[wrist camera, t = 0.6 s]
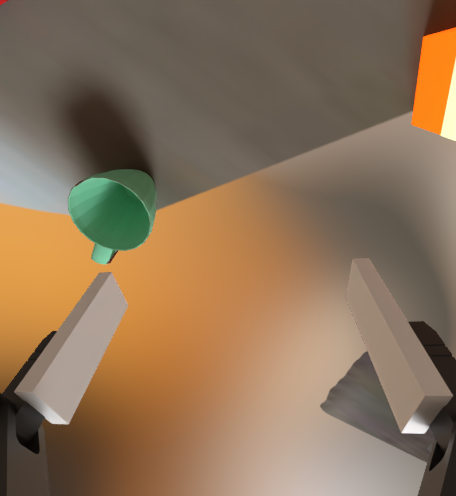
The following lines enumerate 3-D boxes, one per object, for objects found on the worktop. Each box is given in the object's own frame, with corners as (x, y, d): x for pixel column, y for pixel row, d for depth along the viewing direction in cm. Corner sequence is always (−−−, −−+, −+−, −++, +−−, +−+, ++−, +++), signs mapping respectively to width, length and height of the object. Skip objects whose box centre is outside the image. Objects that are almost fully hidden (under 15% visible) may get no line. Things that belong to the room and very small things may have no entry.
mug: (114, 138, 35) (73, 160, 27) (181, 172, 37) (162, 202, 29) (95, 221, 43) (58, 257, 35) (151, 245, 45) (129, 285, 37)
